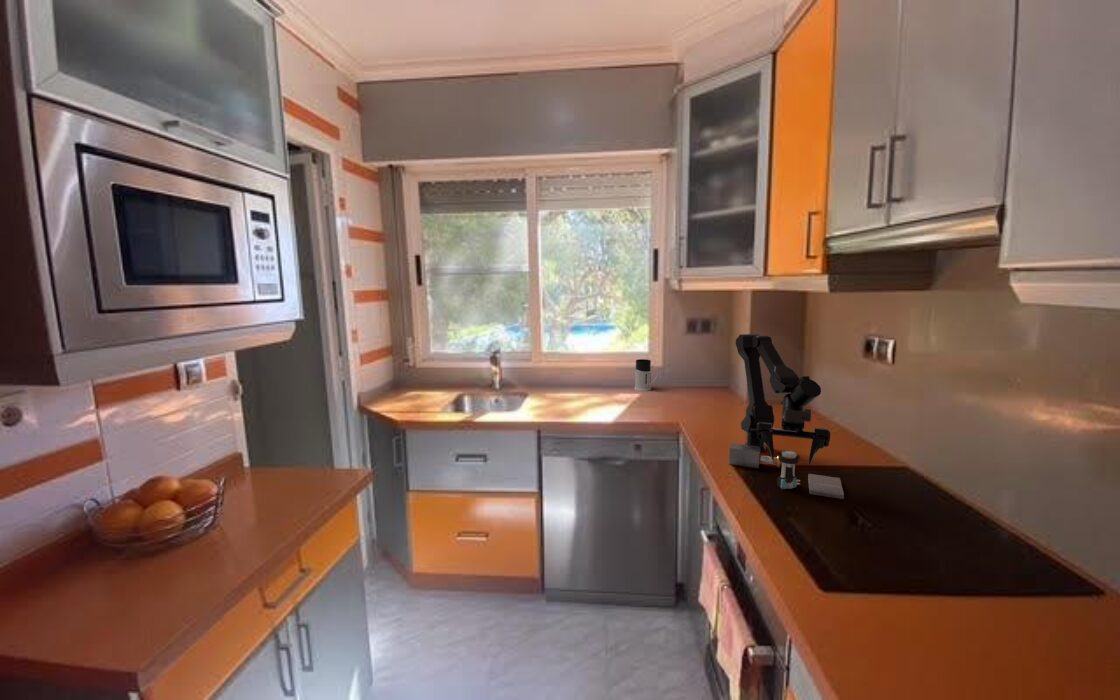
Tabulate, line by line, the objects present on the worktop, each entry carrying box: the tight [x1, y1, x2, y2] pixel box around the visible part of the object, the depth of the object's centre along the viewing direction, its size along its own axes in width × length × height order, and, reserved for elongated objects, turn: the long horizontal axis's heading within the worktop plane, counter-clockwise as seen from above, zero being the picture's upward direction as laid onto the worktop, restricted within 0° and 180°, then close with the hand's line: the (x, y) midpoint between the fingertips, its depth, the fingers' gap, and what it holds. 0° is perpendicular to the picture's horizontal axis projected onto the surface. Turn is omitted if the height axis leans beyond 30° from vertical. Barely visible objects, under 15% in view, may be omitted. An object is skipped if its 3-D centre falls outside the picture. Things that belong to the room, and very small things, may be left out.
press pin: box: [759, 454, 781, 468], centre depth 155 cm, size 3×9×3 cm, turn 66°
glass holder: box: [633, 358, 660, 392], centre depth 258 cm, size 9×14×15 cm, turn 40°
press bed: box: [807, 473, 845, 500], centre depth 138 cm, size 12×8×3 cm, turn 156°
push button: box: [776, 449, 801, 490], centre depth 139 cm, size 7×5×10 cm
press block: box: [728, 443, 761, 469], centre depth 157 cm, size 5×8×5 cm, turn 66°
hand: (791, 461), depth 138 cm, fingers open, 9 cm apart
